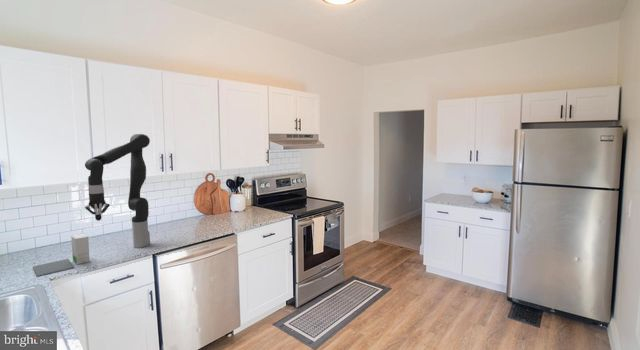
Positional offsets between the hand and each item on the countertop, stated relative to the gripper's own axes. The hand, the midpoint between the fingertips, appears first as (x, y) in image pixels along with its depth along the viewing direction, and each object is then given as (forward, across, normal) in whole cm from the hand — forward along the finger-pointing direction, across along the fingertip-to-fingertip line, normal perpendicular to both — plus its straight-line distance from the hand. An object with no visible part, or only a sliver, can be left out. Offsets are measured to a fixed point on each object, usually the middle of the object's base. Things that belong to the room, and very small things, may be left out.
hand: (98, 220), depth 197 cm
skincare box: (+23, +10, 0) cm, 25 cm away
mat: (+23, +23, 0) cm, 33 cm away
